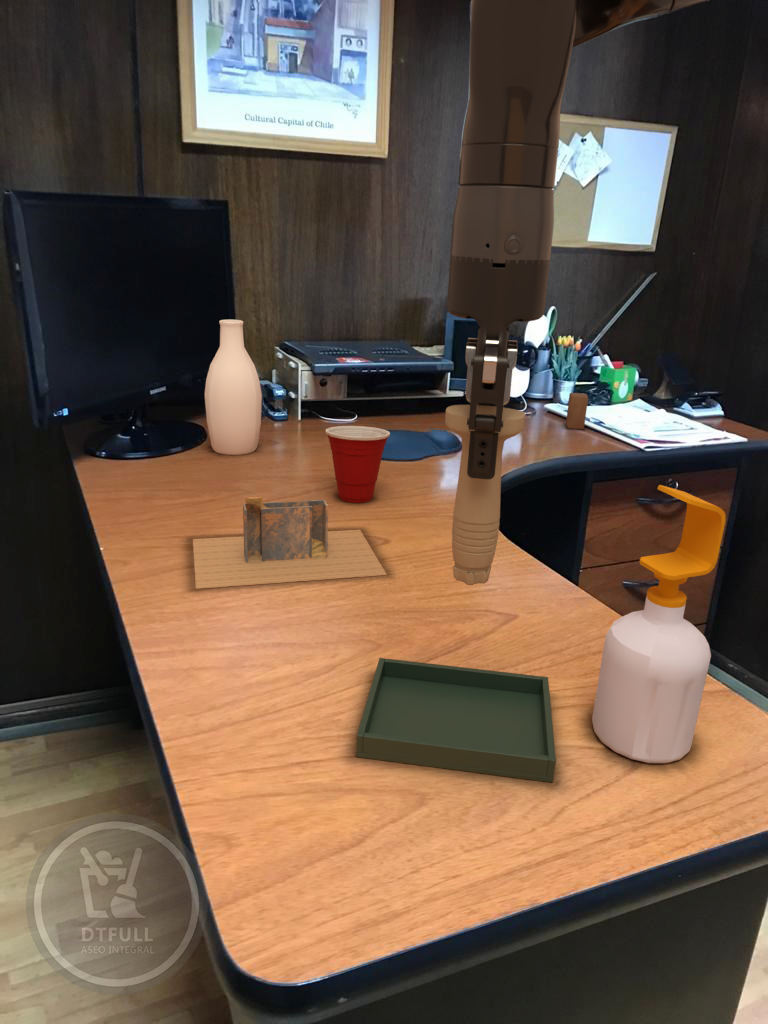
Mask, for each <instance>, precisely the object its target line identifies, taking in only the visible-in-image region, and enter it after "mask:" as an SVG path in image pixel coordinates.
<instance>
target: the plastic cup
mask: <svg viewBox="0 0 768 1024" xmlns="http://www.w3.org/2000/svg"><path fill="white" fill-rule="evenodd" d="M325 434H326V435H327V437H328V440H329V444H330V451H331V457H332V463H333V469H334V476H335V477H334V478H335V481H336V486H337V495H338V498H339V500H340V501H344V502H346V503H353V504H360V503H367V502H369V501H371V500H372V499H373V496H374V494H375V489H376V485H377V481H378V477H379V471H380V469H381V468H380V467H381V463H382V457H383V453H384V450H385V445H386V444H387V441H388V439H389V437H390V435H391V432H390V431H389V430H386V429H383V428H379V427H374V426H373V427H372V426H366V425H365V426H364V425H338V426H331V427H327V428H325Z"/></svg>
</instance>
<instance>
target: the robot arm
mask: <svg viewBox="0 0 768 1024" xmlns="http://www.w3.org/2000/svg"><path fill="white" fill-rule="evenodd" d="M709 1H711V0H470V3H469V22H470V29H469V30H470V32H469V60H468V61H469V62H468V63H469V68H468V98H467V104H466V105H467V106H466V110H465V115H464V121H463V126H462V133H461V141H460V142H461V143H460V146H461V147H460V153H459V168H458V183H457V184H458V187H457V196H456V200H455V205H454V209H453V216H452V224H451V225H452V226H451V242H450V255H449V269H448V270H449V271H448V283H447V284H448V286H447V301H446V309H447V312H448V313H449V314H450V315H451V316H454V317H456V318H462V319H467V320H469V319H470V320H471V319H472V320H474V321H476V322H477V325H478V331H477V337H468V338H467V342H466V346H465V347H466V348H465V356H464V357H465V359H464V360H465V364H466V366H467V371H466V373H467V374H466V384H465V399H466V401H467V402H468V403H469V405H470V414H469V418H467V427H469V428H468V430H469V432H470V442H469V455H468V467H467V474H468V476H469V477H471V478H477V479H492V478H493V477H494V475H495V467H496V457H497V446H498V435H499V434H500V432H501V430H502V428H503V422H504V421H502V413H503V407H504V406H505V405H507V404H508V403H509V402H510V399H511V391H512V388H511V387H512V380H513V379H512V378H513V370H514V369H515V368H516V365H517V360H518V349H519V348H518V347H519V345H518V340H513V339H512V340H511V339H510V337H509V328H510V326H511V325H512V324H513V323H514V322H521V323H522V322H534V321H538V320H540V319H541V318H543V316H544V315H545V309H546V301H547V292H548V282H549V274H550V265H551V264H550V263H551V255H552V244H553V237H554V227H555V201H554V199H555V190H554V189H555V183H556V175H557V166H558V165H557V164H558V155H559V148H560V129H561V127H560V124H561V110H562V101H563V96H564V91H565V87H566V83H567V77H568V72H569V67H570V62H571V56H572V50H573V48H576V47H579V46H581V45H584V44H586V43H588V42H590V41H592V40H595V39H597V38H599V37H602V36H604V35H606V34H608V33H610V32H612V31H615V30H617V29H620V28H621V27H624V26H626V25H631V24H632V23H636V22H639V21H644V20H648V19H654V18H657V17H661V16H665V15H667V14H671V13H674V12H678V11H680V10H684V9H686V8H690V7H693V6H697V5H699V4H702V3H705V2H709ZM477 405H484V406H496V417H495V415H486V414H476V413H477Z"/></svg>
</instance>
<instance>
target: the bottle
mask: <svg viewBox="0 0 768 1024" xmlns="http://www.w3.org/2000/svg"><path fill="white" fill-rule="evenodd" d="M218 323H219V325H220V326H219V327H220V328H219V347H218V349H217V351H216V353H215V356H214V357H213V359H212V361H211V362H210V364H209V368H208V371H207V375H206V379H205V385H204V386H205V388H204V405H205V416H206V424H207V430H208V435H209V440H210V445H211V449H212V450H213V451H214V452H215V453H217V454H220V455H226V456H241V455H248V454H251V453H254V452H255V451H256V450H257V448H258V446H259V440H260V431H261V426H262V425H261V424H262V401H263V394H262V388H261V382H260V378H259V375H258V371H257V369H256V364H255V363H254V362H253V360H252V358H251V357H250V355H249V353H248V351H247V349H246V347H245V340H244V339H245V338H244V327H243V325H244V321H243V320H240V319H221V320H219V322H218Z"/></svg>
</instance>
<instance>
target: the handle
mask: <svg viewBox="0 0 768 1024" xmlns="http://www.w3.org/2000/svg"><path fill="white" fill-rule="evenodd" d="M469 414H470V404H453V405H450V406H448V407H446V409H445V417H444V424H445V426H446V427H447V428H448V429H449V430H450V431H451V432H453V433H455V434H456V435H458V436H459V437H460V438H461V454H460V462H459V470H458V479H457V486H456V492H455V499H454V507H453V513H452V515H453V516H452V524H451V526H452V527H451V549H452V551H451V552H452V559H453V562H454V565H453V566H452V575H453V578H454V579H455V581H458V582H462V583H464V584H465V585H466V586H474V585H479V584H480V585H481V584H482V585H484V584H486V583H487V582H488V581H489V578H490V574H491V569H492V564H493V561H494V558H495V555H496V550H497V546H498V545H497V544H498V540H499V532H500V521H501V520H500V519H501V492H502V491H501V490H502V467H503V466H502V465H503V451H504V445H505V442H506V441H507V440H509V439H511V438H513V437H516V436H517V435H519V434H520V433H522V432H523V431H524V428H525V421H526V413H525V412H524V411H522V410H519V409H515V408H509V407H504V406H503V413H502V421H504V422H503V428H502V430H501V432H500V434H499V435H498V446H497V457H496V467H495V475H494V477H493V478H492V479H477V478H471V477H469V476H468V474H467V467H468V455H469V442H470V432H469V430H468V428H469V427H467V418H469ZM476 414H486V415H495V417H496V406H484V405H477V413H476Z"/></svg>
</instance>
